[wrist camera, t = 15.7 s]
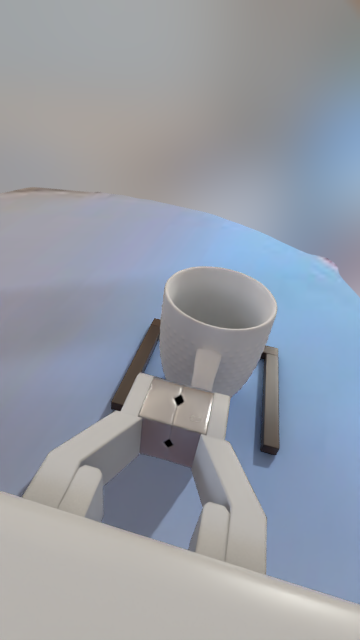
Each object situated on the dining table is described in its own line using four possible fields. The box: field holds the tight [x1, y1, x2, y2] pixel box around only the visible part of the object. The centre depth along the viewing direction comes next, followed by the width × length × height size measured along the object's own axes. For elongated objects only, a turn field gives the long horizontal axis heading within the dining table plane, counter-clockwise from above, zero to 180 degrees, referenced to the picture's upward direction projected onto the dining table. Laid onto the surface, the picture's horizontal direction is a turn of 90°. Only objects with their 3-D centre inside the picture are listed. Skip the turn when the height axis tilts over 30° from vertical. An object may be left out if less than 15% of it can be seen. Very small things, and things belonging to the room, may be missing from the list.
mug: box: [159, 267, 277, 398], centre depth 34 cm, size 15×11×13 cm
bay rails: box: [111, 318, 279, 455], centre depth 40 cm, size 18×16×1 cm
